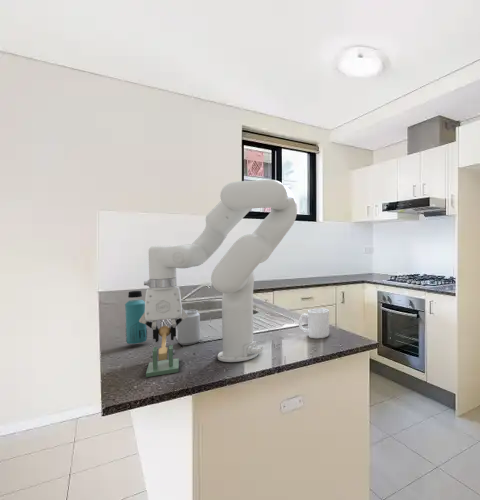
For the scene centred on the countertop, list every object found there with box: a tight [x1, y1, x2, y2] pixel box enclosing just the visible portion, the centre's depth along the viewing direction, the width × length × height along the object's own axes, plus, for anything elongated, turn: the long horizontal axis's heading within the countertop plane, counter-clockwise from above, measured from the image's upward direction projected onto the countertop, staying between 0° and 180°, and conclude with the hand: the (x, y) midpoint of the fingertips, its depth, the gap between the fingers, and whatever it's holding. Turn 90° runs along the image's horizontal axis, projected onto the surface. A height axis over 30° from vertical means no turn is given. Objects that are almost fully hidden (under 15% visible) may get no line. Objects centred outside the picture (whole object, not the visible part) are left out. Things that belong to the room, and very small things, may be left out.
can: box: [176, 309, 201, 346], centre depth 132 cm, size 8×8×12 cm
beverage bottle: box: [124, 290, 148, 345], centre depth 129 cm, size 6×7×20 cm
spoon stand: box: [145, 344, 180, 378], centre depth 105 cm, size 10×8×6 cm
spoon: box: [158, 325, 171, 361], centre depth 110 cm, size 15×4×4 cm, turn 28°
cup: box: [298, 308, 330, 339], centre depth 141 cm, size 8×12×10 cm
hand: (164, 339), depth 115 cm, fingers closed on spoon, 3 cm apart
